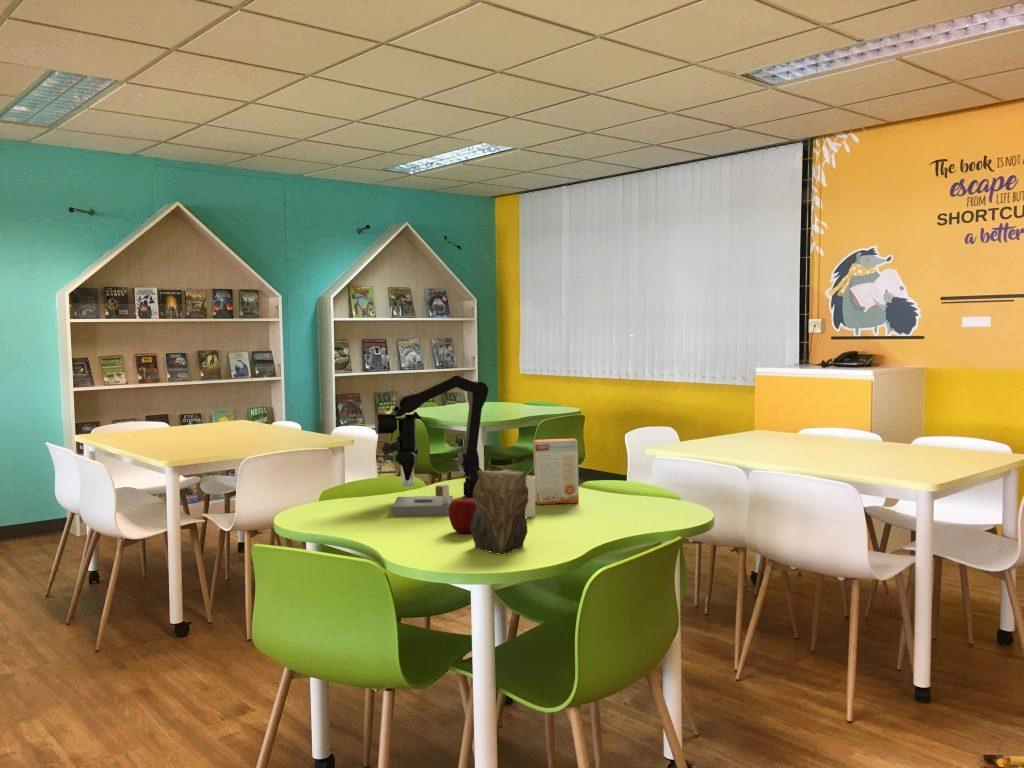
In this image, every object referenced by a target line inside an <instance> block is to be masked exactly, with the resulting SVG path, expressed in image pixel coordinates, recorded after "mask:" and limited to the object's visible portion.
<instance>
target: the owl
mask: <svg viewBox="0 0 1024 768" xmlns="http://www.w3.org/2000/svg"><path fill="white" fill-rule="evenodd" d="M477 475H478V477H479V478H478V481H477V483H476V485H475V487H474V491H473V497H472V498H473V502H474V504H475V506H476V508H477V509H476V510H475V513H474V515H473V519H472V522H471V525H470V529H471V532H470V533H471V536H472V540H473V542H474V548H475V547H476V548H475V549H477V548H480V549H479V550H482V549H483V550H482V551H484V550H487V551H486V552H488V551H491V552H493V553H492V554H494V553H499V554H504V553H506V554H508V553H507V552H509V553H511V552H513V551H515V550H514V549H517V548H518V549H520V548H519V547H521V548H523V547H524V546H523V545H524V542H525V540H526V537H527V535H528V523H527V518H525V509H526V505H527V503H528V488H527V486H526V475H527V470H523V471H519V470H514V469H510V468H508V469H507V468H505V469H502V470H485V469H484V470H482V469H481V470H479V471H478V472H477ZM522 546H523V547H522ZM518 549H517V550H518ZM512 550H513V551H512ZM510 551H511V552H510ZM491 552H490V553H491ZM499 554H498V555H499ZM504 555H505V554H504Z"/></svg>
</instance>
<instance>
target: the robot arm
mask: <svg viewBox="0 0 1024 768" xmlns="http://www.w3.org/2000/svg"><path fill="white" fill-rule="evenodd" d="M454 389H459V390H462V391H464V392H466V396H467V397H466V398H467V403H468V412H467V413H468V414H467V421H466V430H465V440H464V447H463V449H462V451H461V452H460V451H457V460H456V465H457V467H458V470H459V471H460V472H461V473H462V474H463V476H464V478H465V479H464V482H463V496H464V498H473V491H474V487H475V485H476V483H477V481H478V478H479V477H478V475H477V472H478V471H479V470H482V469H481V468H480V457H479V453H478V443H479V435H480V427H481V419H482V410H483V407H484V405H485V403H486V401H487V397H488V395H489V387H488V385H487V384H486V383H485V382H483V381H478V380H469V379H468V378H463V376H462V377H461V376H460V375H457V374H453V375H450V376H449V377H447V378H445V379H443V380H441V381H438V382H437V383H435V384H432V385H430V386H428V387H426V388H424V389H421V390H418V391H413V392H409V393H405V394H402V395H400V396H398V397H397V399H396V401H395V402H396V405H394V408H393V409H392V410H391V412H390V413H376V415H375V422H374V431H375V434H376V435H388V434H390V435H391V434H394V433H395V432H396V431H398V432H397V433H398V435H397V437H396V440H393V441H391V442H390V441H387V442H384V443H383V445H381V452H382V453H383V456H387V455H389V454H392V453H394V452H396V454H395V456H394V457H395V463H396V462H397V464H398V463H399V464H400V466H401V469H402V468H403V471H404V475H405V479H406V480H409V479H410V476H411V473H412V470H413V467H414V468H415V465H416V462H417V460H418V455H419V449H420V448H419V447H418V446H417V443H416V441H417V434H416V420H420V419H422V416H421V415H419V414H418V412H417V411H416V410H418V409H419V408H421V407H422V405H424V404H425V403H426V402H427V401H430V400H432V399H433V398H436V397H439V396H440V395H442V394H445V393H447V392H449V391H452V390H454Z"/></svg>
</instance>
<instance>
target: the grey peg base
mask: <svg viewBox="0 0 1024 768" xmlns="http://www.w3.org/2000/svg"><path fill="white" fill-rule="evenodd" d="M442 485H443V496H436V495H430V496H429V495H427V496H425V495H424V496H421V495H420V496H397V497H396V499H395V501H394V503H393V504H392V509H391V510H392V511H391V512H392V514H391V515H392V517H425V516H424V515H427V516H429V517H431V516H430V515H436V516H449V505H450V503H451V502H452V501H453V500H454V498H453V497H454V495H450V485H449V484H442Z"/></svg>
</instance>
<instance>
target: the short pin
mask: <svg viewBox="0 0 1024 768" xmlns="http://www.w3.org/2000/svg"><path fill="white" fill-rule="evenodd" d="M443 485H444V484H440V485H439V484H438V485H436V486H435V488H434V489H435V491H434V492H435V496H443Z"/></svg>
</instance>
